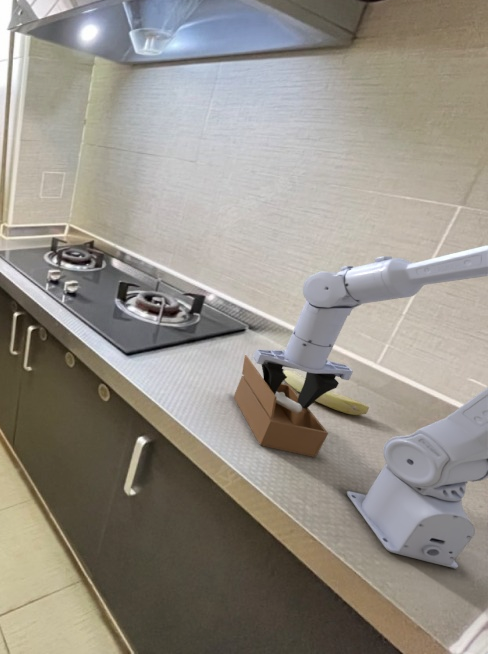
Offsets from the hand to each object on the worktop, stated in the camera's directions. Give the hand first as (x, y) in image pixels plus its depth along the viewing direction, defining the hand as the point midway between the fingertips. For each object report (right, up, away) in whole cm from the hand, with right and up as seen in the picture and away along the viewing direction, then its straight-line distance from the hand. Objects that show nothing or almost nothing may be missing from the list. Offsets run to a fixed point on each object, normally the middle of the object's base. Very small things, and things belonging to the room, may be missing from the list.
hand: (284, 401), depth 72 cm
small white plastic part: (0, -2, +1) cm, 2 cm away
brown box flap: (-5, +3, 0) cm, 6 cm away
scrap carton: (-1, -5, +2) cm, 6 cm away
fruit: (+17, -3, +12) cm, 21 cm away
